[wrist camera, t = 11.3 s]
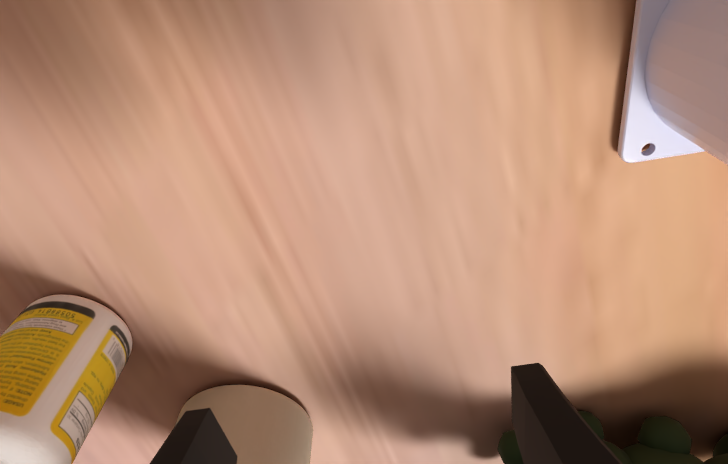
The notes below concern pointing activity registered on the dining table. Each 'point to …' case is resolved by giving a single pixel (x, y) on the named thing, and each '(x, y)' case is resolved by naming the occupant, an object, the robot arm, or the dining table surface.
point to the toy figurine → (643, 460)
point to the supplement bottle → (57, 377)
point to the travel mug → (258, 423)
